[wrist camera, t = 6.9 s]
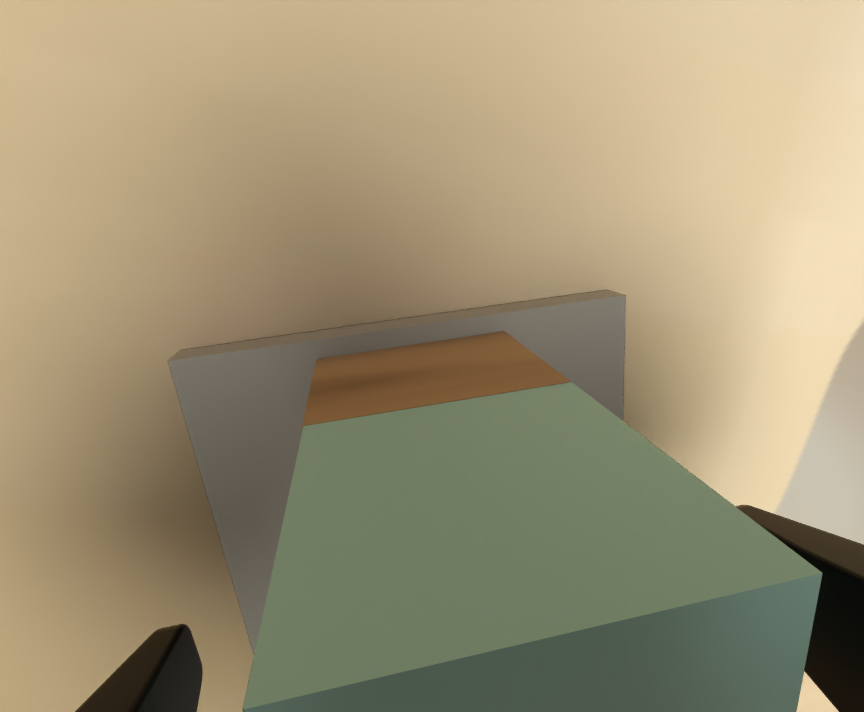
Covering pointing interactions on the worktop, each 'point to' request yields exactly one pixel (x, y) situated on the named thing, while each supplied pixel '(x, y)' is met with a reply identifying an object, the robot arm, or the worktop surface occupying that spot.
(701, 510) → the teal block
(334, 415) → the walnut base
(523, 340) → the board
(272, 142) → the worktop surface
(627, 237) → the worktop surface
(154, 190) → the worktop surface
